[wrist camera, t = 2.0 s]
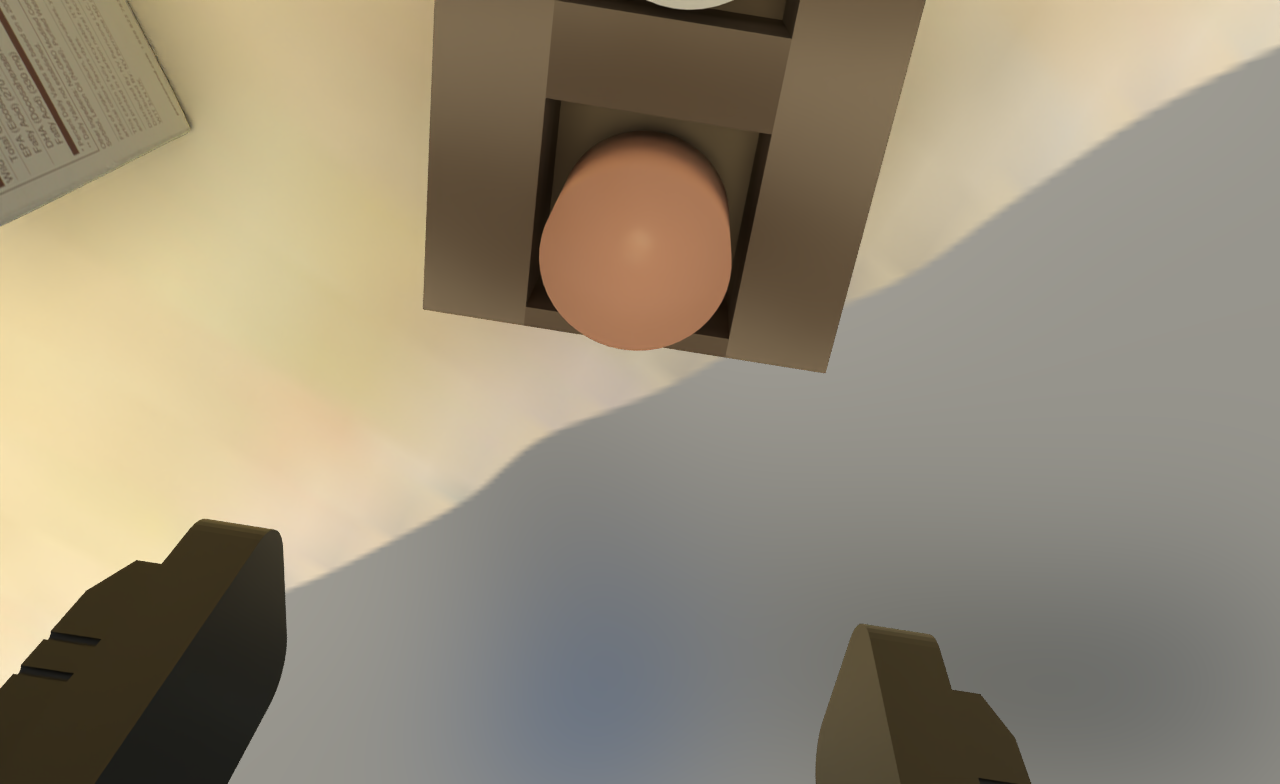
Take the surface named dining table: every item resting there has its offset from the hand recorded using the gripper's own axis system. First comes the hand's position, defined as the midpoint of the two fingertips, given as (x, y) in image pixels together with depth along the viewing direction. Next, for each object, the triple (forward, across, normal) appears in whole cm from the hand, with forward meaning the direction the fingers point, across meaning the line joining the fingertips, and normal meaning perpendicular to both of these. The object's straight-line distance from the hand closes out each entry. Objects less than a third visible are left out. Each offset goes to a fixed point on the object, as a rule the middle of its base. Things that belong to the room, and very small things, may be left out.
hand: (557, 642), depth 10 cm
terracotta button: (+14, 0, 0) cm, 14 cm away
